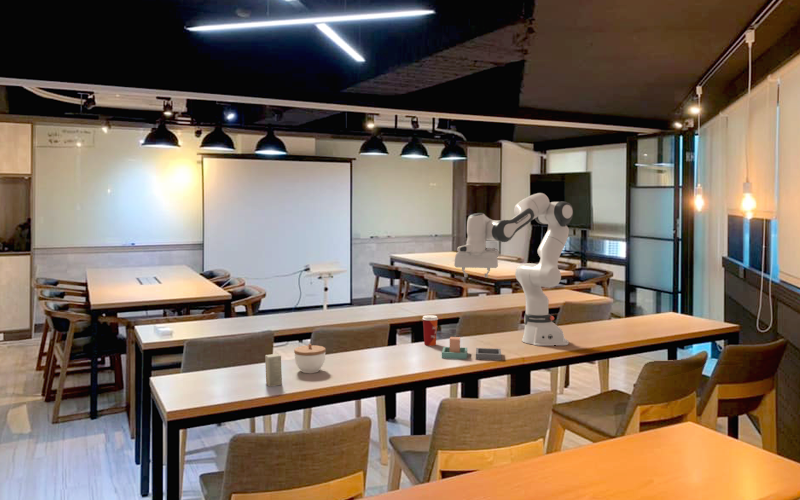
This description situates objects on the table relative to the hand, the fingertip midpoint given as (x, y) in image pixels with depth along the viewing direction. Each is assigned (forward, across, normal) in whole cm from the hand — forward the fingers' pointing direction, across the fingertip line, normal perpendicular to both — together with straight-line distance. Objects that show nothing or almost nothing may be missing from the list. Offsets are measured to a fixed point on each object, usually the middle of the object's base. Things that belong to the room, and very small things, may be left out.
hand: (475, 277), depth 271 cm
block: (+34, +9, +14) cm, 38 cm away
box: (+34, +74, +68) cm, 106 cm away
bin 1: (+34, +9, +14) cm, 38 cm away
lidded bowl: (+34, +66, +48) cm, 88 cm away
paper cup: (+34, +22, -6) cm, 41 cm away
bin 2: (+34, -6, +14) cm, 37 cm away
